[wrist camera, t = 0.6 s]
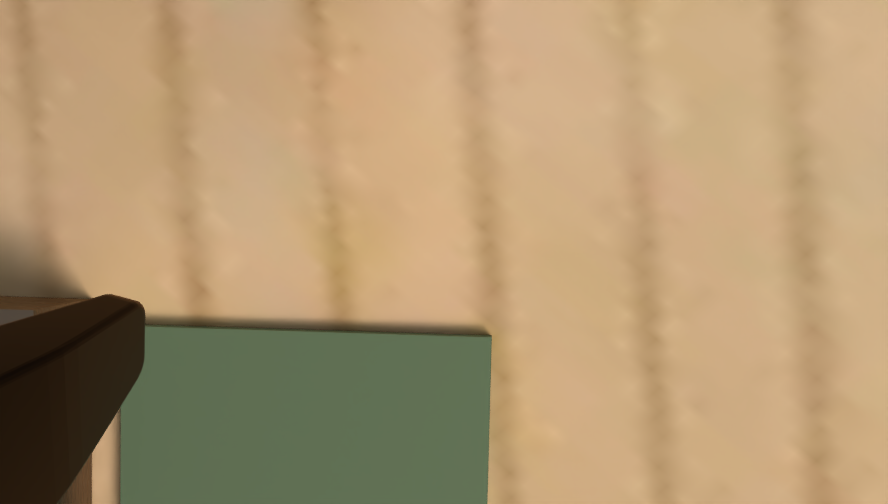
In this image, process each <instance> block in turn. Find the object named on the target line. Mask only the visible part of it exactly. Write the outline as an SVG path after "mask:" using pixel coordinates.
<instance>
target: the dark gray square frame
mask: <svg viewBox="0 0 888 504" xmlns="http://www.w3.org/2000/svg"><path fill="white" fill-rule="evenodd" d="M85 300H88V299H79V298H45V297H11V296H0V325H3V324H6V323H10V322H13V321H16V320H20V319H23V318H27V317H30V316H34V315H37V314H40V313H44V312H47V311H51V310H54V309H57V308H61V307H64V306H68V305H71V304H74V303H78V302H81V301H85ZM57 504H92V453H91V455H90V457H89V458H88V460H87V461H86V463H85V465H84V466H83V468H82V469H81V471H80V472H79V474H78V475H77V477H76V478H75V480H74V481H73V483H72V484H71V486H70V487H69V489H68V490H67V491H66V493H65V494H64V495H63V497H62V498H61V499H60V501H59V502H58V503H57Z"/></svg>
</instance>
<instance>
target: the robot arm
mask: <svg viewBox="0 0 888 504" xmlns="http://www.w3.org/2000/svg"><path fill="white" fill-rule="evenodd" d="M144 358H145V310H144V307H143V305H142V304H141V303H140V302H138V301H135V300H131V299H127V298H124V297H120V296H116V295H112V294H106V295H102V296H98V297H95V298H92V299H88V300H85V301H81V302H78V303H74V304H71V305H68V306H64V307H61V308H57V309H54V310H51V311H47V312H44V313H40V314H37V315H34V316H30V317H27V318H23V319H20V320H16V321H13V322H10V323H6V324H3V325H0V504H57V503H58V502H59V501H60V499H61V498H62V497H63V495H64V494H65V493H66V491H67V490H68V489H69V487H70V486H71V484H72V483H73V481H74V480H75V478H76V477H77V475H78V474H79V472H80V471H81V469H82V468H83V466H84V465H85V463H86V461H87V460H88V458H89V457H90V455H91V453H92V452H93V450H94V449H95V447H96V445H97V444H98V442H99V440H100V439H101V437H102V436H103V434H104V432H105V431H106V429H107V428H108V426H109V424H110V423H111V421H112V420H113V418H114V416H115V415H116V413H117V412H118V410H119V408H120V407H121V405H122V404H123V402H124V400H125V399H126V397H127V396H128V394H129V392H130V391H131V389H132V387H133V386H134V384H135V383H136V381H137V379H138V378H139V376H140V373H141V371H142V368H143V364H144Z"/></svg>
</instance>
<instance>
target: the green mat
mask: <svg viewBox="0 0 888 504" xmlns="http://www.w3.org/2000/svg"><path fill="white" fill-rule="evenodd" d="M491 341H492V337H491V335H463V334H431V333H399V332H367V331H335V330H303V329H270V328H238V327H206V326H174V325H145V358H144V364H143V368H142V371H141V373H140V376H139V378H138V379H137V381H136V383H135V384H134V386H133V387H132V389H131V391H130V392H129V394H128V396H127V397H126V399H125V400H124V402H123V404H122V405H121V459H120V504H487V493H488V455H489V417H490V379H491Z"/></svg>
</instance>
